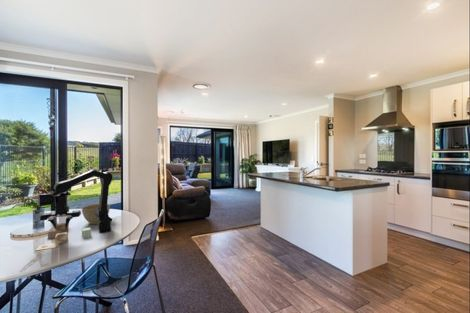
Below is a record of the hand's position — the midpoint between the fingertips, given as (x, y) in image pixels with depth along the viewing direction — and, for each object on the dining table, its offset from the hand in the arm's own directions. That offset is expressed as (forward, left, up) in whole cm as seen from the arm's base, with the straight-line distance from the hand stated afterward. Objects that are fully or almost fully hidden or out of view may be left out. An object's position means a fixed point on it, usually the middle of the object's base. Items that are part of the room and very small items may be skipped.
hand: (61, 229), depth 135 cm
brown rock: (+5, -17, -8) cm, 19 cm away
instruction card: (+5, +6, -7) cm, 11 cm away
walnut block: (0, 0, -1) cm, 1 cm away
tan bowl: (-14, -32, -8) cm, 36 cm away
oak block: (0, 0, -7) cm, 7 cm away
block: (-12, -4, -7) cm, 15 cm away
